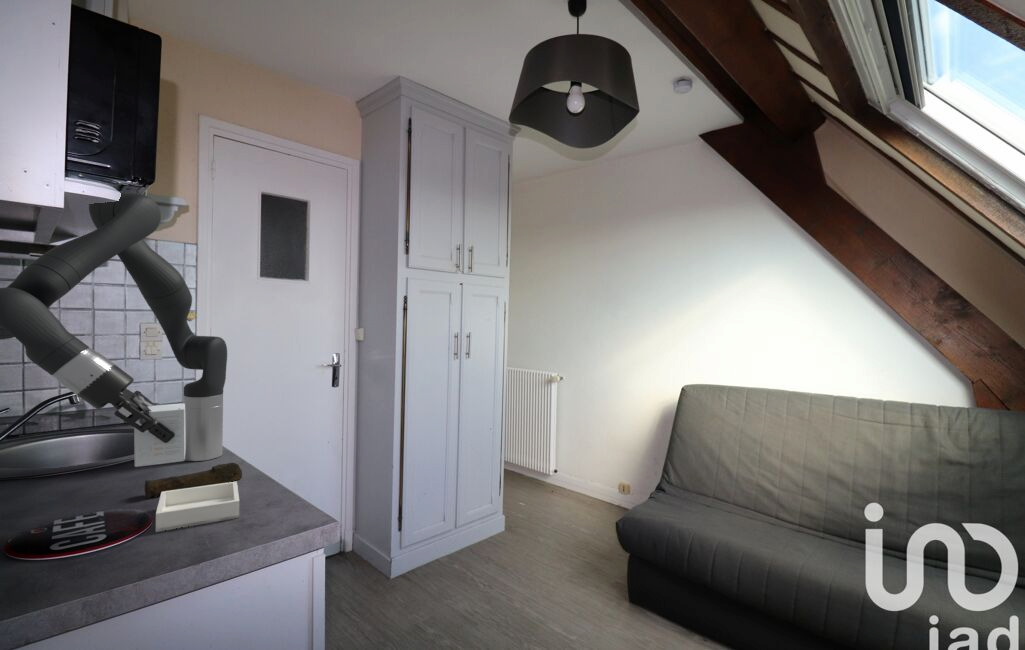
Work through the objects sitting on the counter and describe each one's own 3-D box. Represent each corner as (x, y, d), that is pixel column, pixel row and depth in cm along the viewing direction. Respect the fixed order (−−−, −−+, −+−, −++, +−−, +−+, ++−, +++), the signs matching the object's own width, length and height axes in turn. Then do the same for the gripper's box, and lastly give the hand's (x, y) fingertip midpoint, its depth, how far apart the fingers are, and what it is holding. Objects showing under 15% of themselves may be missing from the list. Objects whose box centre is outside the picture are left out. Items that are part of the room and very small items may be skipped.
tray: (161, 508, 101) (161, 491, 101) (236, 496, 108) (236, 481, 108) (155, 532, 91) (155, 513, 91) (239, 517, 98) (239, 500, 98)
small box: (185, 453, 101) (186, 402, 100) (184, 461, 96) (185, 408, 95) (136, 458, 96) (137, 406, 96) (133, 467, 92) (133, 412, 91)
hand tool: (145, 502, 105) (145, 480, 104) (143, 495, 108) (144, 475, 107) (243, 483, 117) (244, 464, 117) (240, 478, 120) (240, 460, 120)
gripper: (105, 368, 85) (186, 429, 92) (119, 358, 97) (190, 412, 104) (64, 401, 83) (151, 460, 89) (84, 386, 95) (159, 439, 102)
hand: (172, 434), depth 97 cm, fingers closed on small box, 5 cm apart
